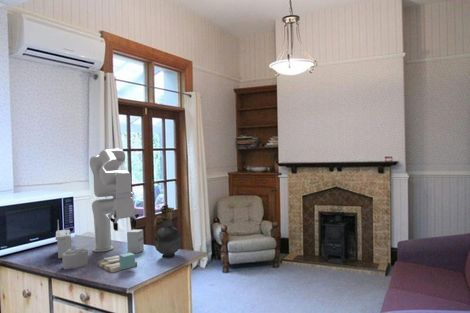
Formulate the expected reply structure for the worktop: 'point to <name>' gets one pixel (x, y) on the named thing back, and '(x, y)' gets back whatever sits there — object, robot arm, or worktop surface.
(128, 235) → the supplement box
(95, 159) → the robot arm
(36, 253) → the worktop surface
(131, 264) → the block
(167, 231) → the pitcher
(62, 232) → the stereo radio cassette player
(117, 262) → the ticket board
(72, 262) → the lumpy-topped squat cylinder
